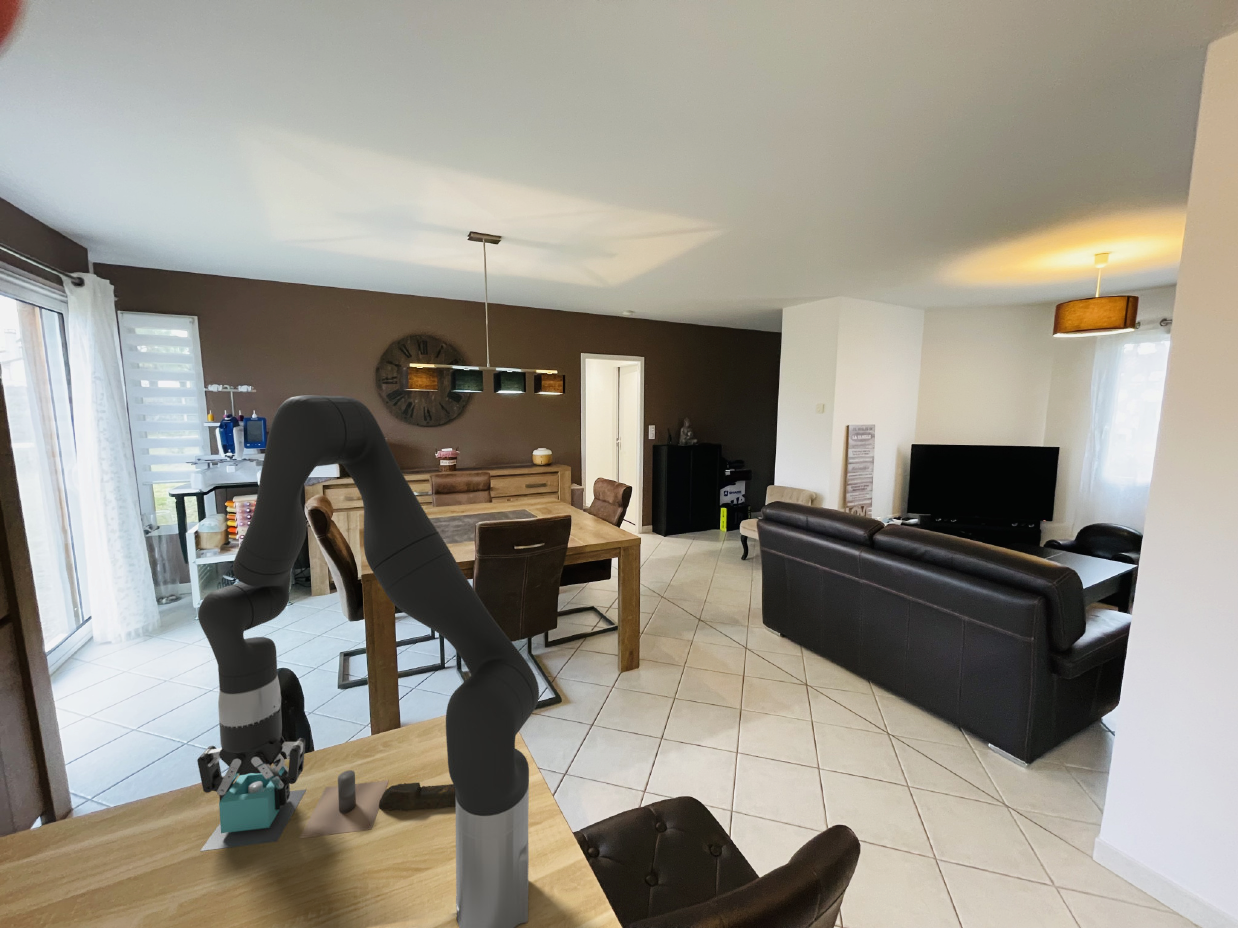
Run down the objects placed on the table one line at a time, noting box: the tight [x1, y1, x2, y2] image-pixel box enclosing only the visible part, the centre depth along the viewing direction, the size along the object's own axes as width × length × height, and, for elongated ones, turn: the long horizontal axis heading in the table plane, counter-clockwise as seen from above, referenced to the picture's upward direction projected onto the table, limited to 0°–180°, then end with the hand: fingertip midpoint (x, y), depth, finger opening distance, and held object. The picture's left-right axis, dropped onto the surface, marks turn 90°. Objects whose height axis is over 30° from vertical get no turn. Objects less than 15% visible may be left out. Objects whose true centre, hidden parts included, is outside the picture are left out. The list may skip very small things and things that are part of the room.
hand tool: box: [379, 782, 456, 812], centre depth 81 cm, size 19×4×5 cm, turn 97°
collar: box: [218, 766, 289, 833], centre depth 76 cm, size 6×6×5 cm
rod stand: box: [299, 770, 389, 839], centre depth 78 cm, size 10×10×6 cm
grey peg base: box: [199, 781, 307, 852], centre depth 76 cm, size 10×10×6 cm
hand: (256, 807), depth 76 cm, fingers closed on collar, 6 cm apart
